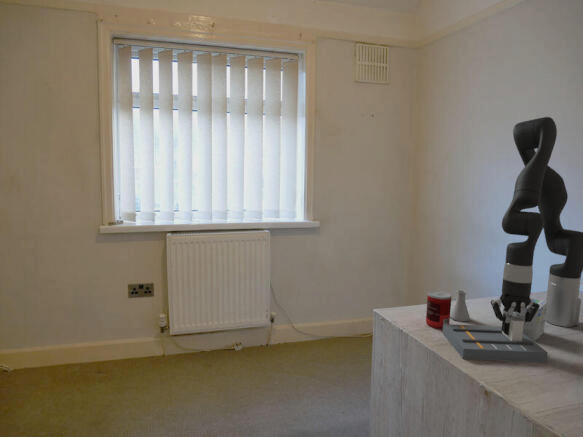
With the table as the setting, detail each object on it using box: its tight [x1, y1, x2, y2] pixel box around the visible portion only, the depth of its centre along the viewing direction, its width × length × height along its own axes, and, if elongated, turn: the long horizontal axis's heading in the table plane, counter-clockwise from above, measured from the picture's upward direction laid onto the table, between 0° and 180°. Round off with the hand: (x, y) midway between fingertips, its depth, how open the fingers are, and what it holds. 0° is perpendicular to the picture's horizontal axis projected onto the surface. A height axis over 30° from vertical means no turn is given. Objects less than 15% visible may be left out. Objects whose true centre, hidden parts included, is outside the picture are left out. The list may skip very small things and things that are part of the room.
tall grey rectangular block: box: [502, 312, 525, 341], centre depth 121 cm, size 3×6×7 cm, turn 177°
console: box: [441, 323, 548, 364], centre depth 122 cm, size 23×18×4 cm
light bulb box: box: [514, 297, 547, 342], centre depth 131 cm, size 11×7×11 cm, turn 135°
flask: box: [450, 289, 471, 322], centre depth 144 cm, size 7×7×10 cm
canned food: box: [425, 290, 452, 330], centre depth 138 cm, size 8×8×11 cm
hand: (511, 333), depth 121 cm, fingers closed on tall grey rectangular block, 3 cm apart
